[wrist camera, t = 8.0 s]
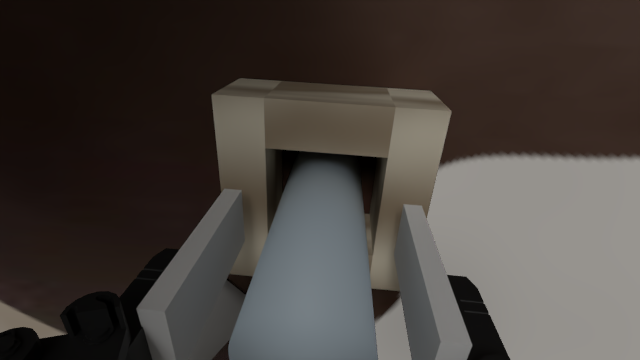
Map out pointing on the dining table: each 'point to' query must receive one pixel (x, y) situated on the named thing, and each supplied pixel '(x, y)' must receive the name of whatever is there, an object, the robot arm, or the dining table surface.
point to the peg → (312, 271)
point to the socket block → (329, 137)
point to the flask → (219, 323)
